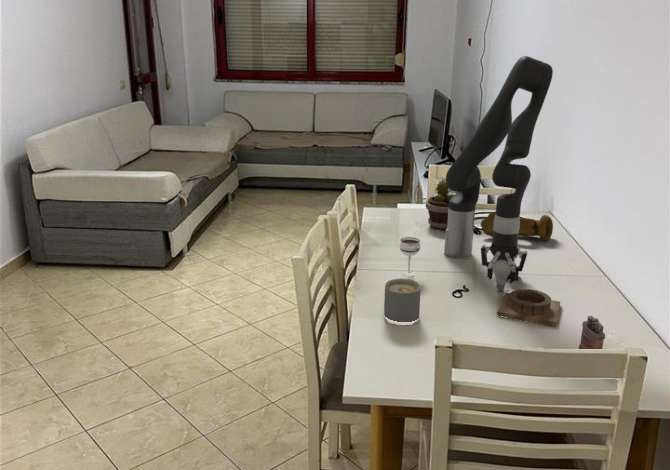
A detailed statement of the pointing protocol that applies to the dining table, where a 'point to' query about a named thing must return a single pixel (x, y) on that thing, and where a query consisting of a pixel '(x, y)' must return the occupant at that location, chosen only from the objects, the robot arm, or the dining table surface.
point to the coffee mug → (402, 300)
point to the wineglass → (409, 247)
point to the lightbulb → (501, 273)
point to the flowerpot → (439, 207)
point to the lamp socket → (529, 307)
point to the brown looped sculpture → (523, 226)
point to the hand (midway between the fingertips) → (501, 280)
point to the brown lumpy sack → (592, 334)
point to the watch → (517, 271)
